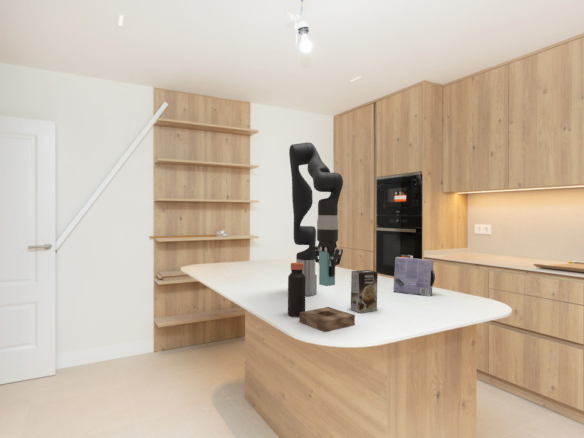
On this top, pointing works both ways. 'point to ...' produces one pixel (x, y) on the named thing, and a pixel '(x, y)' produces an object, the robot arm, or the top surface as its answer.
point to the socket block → (326, 318)
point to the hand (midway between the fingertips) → (327, 275)
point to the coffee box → (364, 290)
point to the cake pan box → (413, 276)
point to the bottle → (296, 290)
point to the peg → (325, 270)
